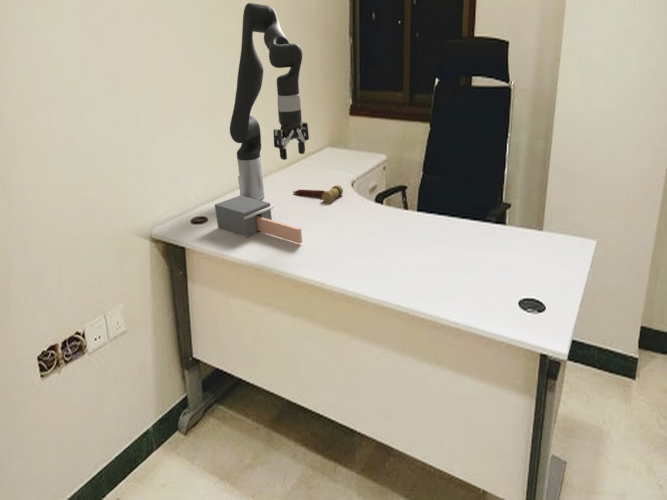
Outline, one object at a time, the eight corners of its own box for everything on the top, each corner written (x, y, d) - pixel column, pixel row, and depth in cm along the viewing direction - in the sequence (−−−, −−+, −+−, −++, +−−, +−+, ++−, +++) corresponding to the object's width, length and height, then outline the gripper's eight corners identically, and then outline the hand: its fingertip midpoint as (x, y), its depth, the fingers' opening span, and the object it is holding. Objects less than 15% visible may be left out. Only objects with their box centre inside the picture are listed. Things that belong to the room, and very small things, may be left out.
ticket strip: (252, 229, 201) (251, 216, 199) (255, 228, 202) (253, 215, 200) (299, 243, 187) (298, 229, 185) (302, 242, 188) (301, 228, 186)
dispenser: (217, 228, 205) (213, 205, 201) (244, 217, 214) (241, 194, 210) (248, 238, 195) (245, 214, 191) (275, 226, 203) (273, 203, 200)
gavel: (286, 190, 232) (298, 183, 240) (287, 201, 234) (300, 193, 242) (331, 192, 222) (342, 185, 230) (332, 203, 224) (343, 195, 232)
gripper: (296, 103, 192) (299, 150, 199) (265, 111, 183) (270, 159, 190) (312, 105, 188) (315, 153, 195) (281, 113, 178) (285, 163, 185)
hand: (292, 156), depth 192 cm, fingers open, 8 cm apart
